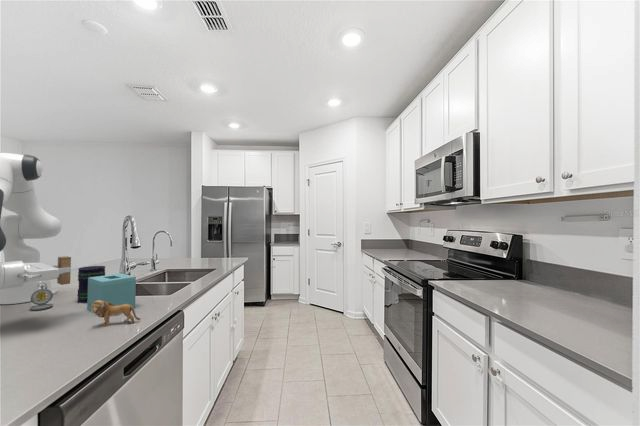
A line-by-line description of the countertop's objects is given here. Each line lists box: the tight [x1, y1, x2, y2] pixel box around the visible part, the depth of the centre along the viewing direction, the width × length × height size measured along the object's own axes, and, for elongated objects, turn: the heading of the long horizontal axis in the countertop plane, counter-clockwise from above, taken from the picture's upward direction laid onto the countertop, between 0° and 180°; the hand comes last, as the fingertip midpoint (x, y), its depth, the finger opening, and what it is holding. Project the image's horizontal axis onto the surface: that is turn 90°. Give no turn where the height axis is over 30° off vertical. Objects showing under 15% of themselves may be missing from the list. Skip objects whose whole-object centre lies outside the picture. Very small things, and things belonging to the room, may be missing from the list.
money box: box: [86, 272, 137, 311], centre depth 118 cm, size 14×12×13 cm
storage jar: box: [76, 265, 106, 304], centre depth 130 cm, size 10×10×15 cm
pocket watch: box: [30, 283, 54, 311], centre depth 118 cm, size 8×8×10 cm
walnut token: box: [56, 255, 72, 286], centre depth 107 cm, size 5×2×10 cm, turn 57°
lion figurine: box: [91, 300, 141, 327], centre depth 101 cm, size 15×5×9 cm, turn 117°
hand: (67, 268), depth 108 cm, fingers closed on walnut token, 5 cm apart
